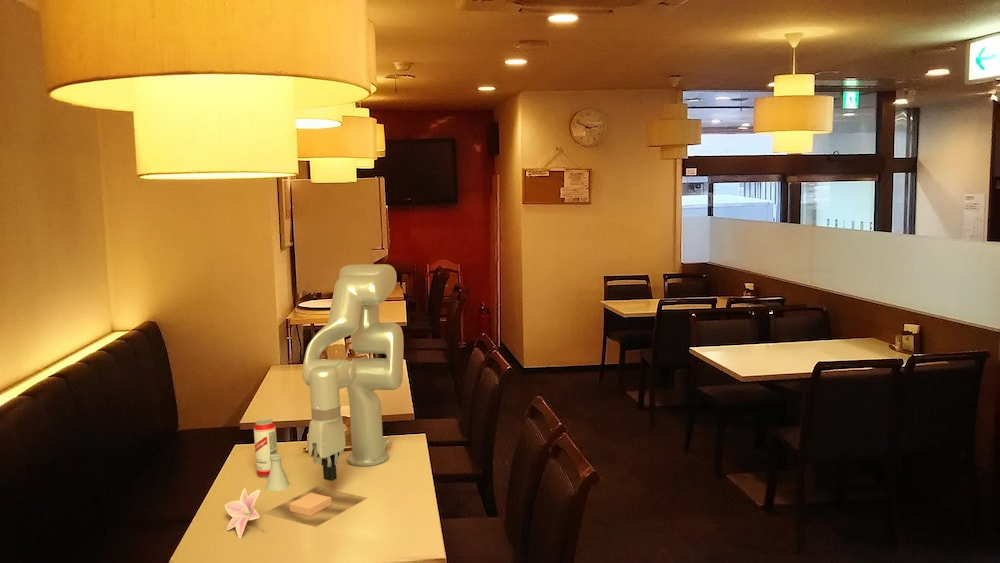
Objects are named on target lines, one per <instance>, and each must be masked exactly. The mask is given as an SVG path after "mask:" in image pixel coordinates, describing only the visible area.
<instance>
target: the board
mask: <svg viewBox="0 0 1000 563" xmlns="http://www.w3.org/2000/svg"><path fill="white" fill-rule="evenodd" d="M310 493H314V494H319V495H323V496H327V497H331V504H332V505H330V506H328V507H326V508H324V509H323V510H321V511H319V512H317V513H315V514H313V515H312V516H308V515H304V514H299V513H295V512H291V511H290V505H289V504H290V503H292V502H294V501H296V500H298V499H300V498H302V497H304V496H306V495H308V494H310ZM367 499H368V497H366V496H361V495H356V494H353V493H347V492H343V491H339V490H335V489H330V488H326V487H321V486H315V487H313V488H311V489H309V490H307V491H305V492H303V493H302V494H301V493H300V494H299V495H297V496H296V497H292V498H291V499H289V500H287V501H285V502H283V503H281V504H279V505H278V506H275V507H273V508H272V509H269V510H268V511H266V512H263V514H264V515H268V516H270V517H276V518H279V519H283V520H287V521H290V522H295V523H297V524H298V523H299V524H302V525H305V526H306V525H307V526H309V527H315V528H317V527H319V526H320V525H322V524H324V523H326V522H328V521H329V520H331V519H333V518H335V517H336V516H338V515H340V514H342V513H343V512H345V511H347V510H350V508H353V507H354V506H356V505H357V504H360V503H362V502H363V501H365V500H367Z"/></svg>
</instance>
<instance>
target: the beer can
mask: <svg viewBox="0 0 1000 563" xmlns="http://www.w3.org/2000/svg"><path fill="white" fill-rule="evenodd" d="M276 430H277V427H276V424H275V423H274V420H273V419H269V418H264V419H258V420H256V421H255V424H254V426H253V437H254V438H253V439H254V452H255V453H254V454H255V468H256V475H257V476H259V478H260V477H261V478H269V474H270V469H271V460H270V459H269V458H270V456H272V455H279V454H278V444H277V442H278V441H277V431H276Z"/></svg>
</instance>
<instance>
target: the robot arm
mask: <svg viewBox="0 0 1000 563" xmlns="http://www.w3.org/2000/svg"><path fill="white" fill-rule="evenodd" d="M397 277H398V276H397V272H396V270H395V268H394V267H393V266H392V265H390V264H383V263H382V264H378V263H377V264H366V263H364V264H363V263H362V264H361V263H358V264H347V265H345V266H343V267H342V268H340V270H339V273H338V279H337V280H336V282H335V284H334V287H333V288H334V289H333V295H332V299H331V304H330V310H329V313H328V314H329V315H328V318H327V319H328V320H327V323H326V324H325V325H324V326H323V327H322V328H321V329H320V330H318V332H316V333H315V335H314V336H313V337H312V338H311V340H310V341H309V343H308V344H307V347H306V350H305V354H304V358H303V364H302V370H301V371H302V372H301V376H302V380H303V382H304V383H305V384H306V385H307V387H308V386H309V393H310V394H309V395H310V408H311V409H310V412H311V420H310V421H309V426H308V440H307V443H308V446H307V448H308V450H307V451H308V457H310V458H313V462H312V463H313V464H315V465H320V466H322V472H323V479H324V481H325V480H326V481H330V482H333V481H335V480H337V478H338V475H337V464H338V462H339V457H340V455H341V454H343V452H345V448H346V432H345V424H344V421H343V420H344V419H343V416H342V412H341V411H342V410H341V408H342V405H341V401H340V399H341V398H340V390H342V389H345V388H347V394H348V402H349V403H348V404H349V420H350V421H349V422H350V439H351V453H349V454H348V455H347V457H346V459H347V460H346V461H347V462H348V464H350V465H353V466H359V467H360V466H361V467H367V466H368V467H369V466H374V465H380V464H382V463H384V462H386V461H387V460H389V455H390V454H389V452H388V451H386V448H387V447H388V446H391V445H392V442H393V441H392V439H390V438H387V439H385V440H384V439H383V438H384V436H383V435H384V434H383V433H384V432H383V418H382V415H383V414H382V402H381V399H380V397H379V396H378V394H377V392H376V391H395V390H398V389H399V388H401V386H402V383H403V377H404V348H405V347H404V345H405V344H404V334H403V332H404V331H403V329H402V327H401V325H399V324H398V323H396V322H391V321H389V322H387V321H386V322H382V321H381V320H380V313H381V312H380V311H381V310H380V305H381V304H383V303H384V302H385V301H386V300H387V298H389V296H390V295H391V294H392V293H393V291H395V290H394V289H395V287H396V285H397ZM380 321H381V322H380ZM349 336H350V344H351V349H352V350H353V352H355V353H357V354H358V353H359V354H369V355H370V354H371V355H372V354H376V355H379V354H380V355H381V354H383V355H386V357H385V358H383V357H382V358H381V357H380V358H375V357H359V358H358V357H357V358H353V359H351V360H347V359H333V358H332V359H329V358H323V359H322V358H321V359H320V356H321V355H322V353H323V352H324V350H325V349H326V348H327V347H329V346H330V345H332V344H334V343H335V342H338V341H340V340H342V339H344V338H346V337H349Z"/></svg>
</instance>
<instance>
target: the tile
mask: <svg viewBox="0 0 1000 563" xmlns="http://www.w3.org/2000/svg"><path fill="white" fill-rule="evenodd" d="M289 505H290V511H291V512H295V513H299V514H304V515H308V516H312V515H313V514H315V513H317V512H319V511H321V510H323V509H324V508H326V507H328V506H330V505H332V504H331V497H327V496H323V495H319V494H314V493H310V494H308V495H306V496H304V497H302V498H300V499H298V500H296V501H294V502H292V503H290V504H289Z"/></svg>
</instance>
